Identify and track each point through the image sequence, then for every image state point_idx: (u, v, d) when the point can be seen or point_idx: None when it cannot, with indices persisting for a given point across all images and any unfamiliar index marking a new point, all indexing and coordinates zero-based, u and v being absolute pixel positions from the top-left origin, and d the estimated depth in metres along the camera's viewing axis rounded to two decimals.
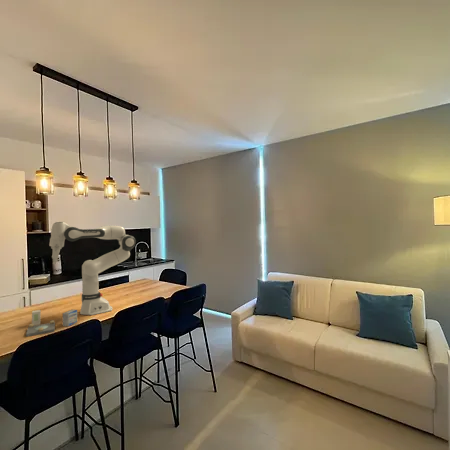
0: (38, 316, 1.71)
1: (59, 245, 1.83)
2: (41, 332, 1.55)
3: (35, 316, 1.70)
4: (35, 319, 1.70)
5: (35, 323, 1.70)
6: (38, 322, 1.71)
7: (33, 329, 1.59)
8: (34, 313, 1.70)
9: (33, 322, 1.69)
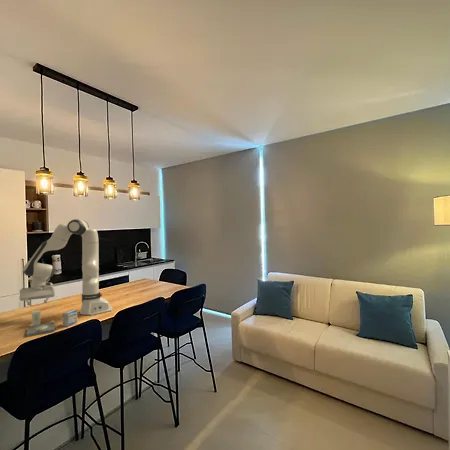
0: (38, 316, 1.71)
1: (31, 287, 1.83)
2: (41, 332, 1.55)
3: (35, 316, 1.70)
4: (35, 319, 1.70)
5: (35, 323, 1.70)
6: (38, 322, 1.71)
7: (33, 329, 1.59)
8: (34, 313, 1.70)
9: (33, 322, 1.69)
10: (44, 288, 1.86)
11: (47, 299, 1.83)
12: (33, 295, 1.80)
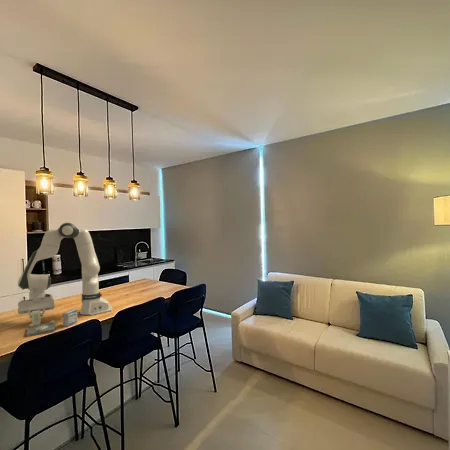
0: (38, 316, 1.71)
1: (29, 299, 1.76)
2: (41, 332, 1.55)
3: (35, 316, 1.70)
4: (35, 319, 1.70)
5: (35, 323, 1.70)
6: (38, 322, 1.71)
7: (33, 329, 1.59)
8: (34, 313, 1.70)
9: (33, 322, 1.69)
10: (43, 300, 1.79)
11: (43, 312, 1.75)
12: (32, 308, 1.73)
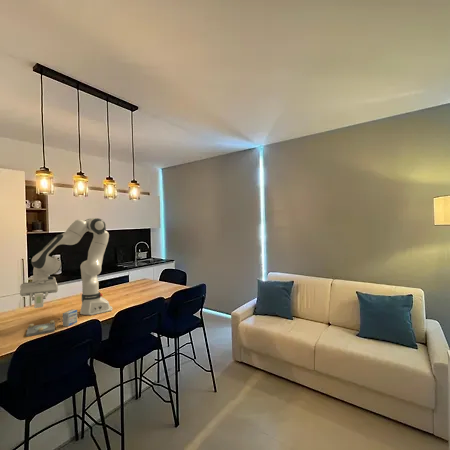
0: (41, 298, 1.64)
1: (32, 281, 1.70)
2: (41, 332, 1.55)
3: (38, 298, 1.63)
4: (38, 301, 1.63)
5: (38, 306, 1.64)
6: (41, 305, 1.64)
7: (33, 329, 1.59)
8: (37, 295, 1.63)
9: (36, 304, 1.63)
10: (46, 283, 1.72)
11: (46, 295, 1.69)
12: (35, 290, 1.66)
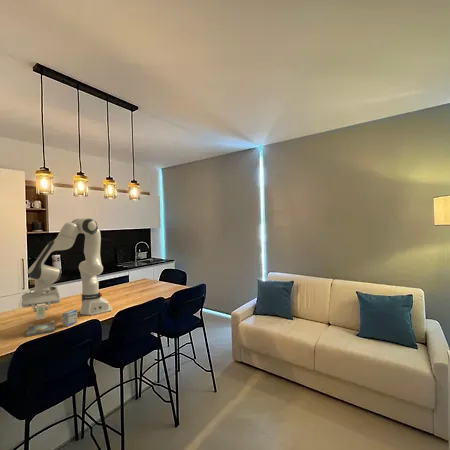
0: (43, 310, 1.60)
1: (34, 291, 1.65)
2: (41, 332, 1.55)
3: (40, 309, 1.59)
4: (40, 313, 1.59)
5: (40, 317, 1.59)
6: (43, 316, 1.60)
7: (33, 329, 1.59)
8: (39, 306, 1.59)
9: (38, 316, 1.58)
10: (49, 293, 1.68)
11: None
12: (37, 301, 1.62)
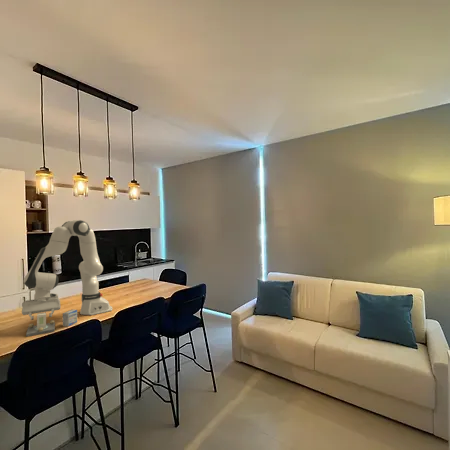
0: (43, 319, 1.60)
1: (34, 299, 1.65)
2: (41, 332, 1.55)
3: (40, 319, 1.59)
4: (40, 322, 1.59)
5: (40, 327, 1.59)
6: (43, 325, 1.60)
7: (33, 329, 1.59)
8: (39, 316, 1.59)
9: (38, 326, 1.59)
10: (49, 300, 1.68)
11: (52, 312, 1.65)
12: (37, 308, 1.62)
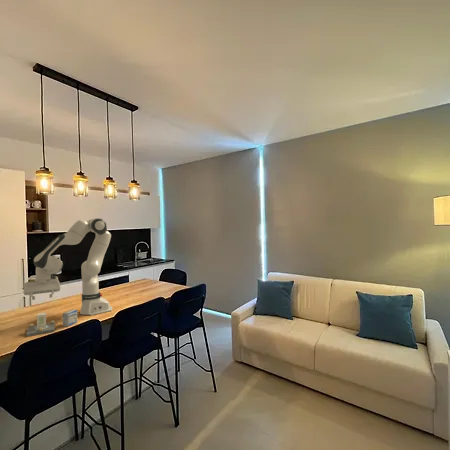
0: (43, 319, 1.60)
1: (35, 280, 1.74)
2: (41, 332, 1.55)
3: (40, 319, 1.59)
4: (40, 322, 1.59)
5: (40, 327, 1.59)
6: (43, 325, 1.60)
7: (33, 329, 1.59)
8: (39, 316, 1.59)
9: (38, 326, 1.59)
10: (49, 282, 1.76)
11: (52, 293, 1.74)
12: (38, 289, 1.70)
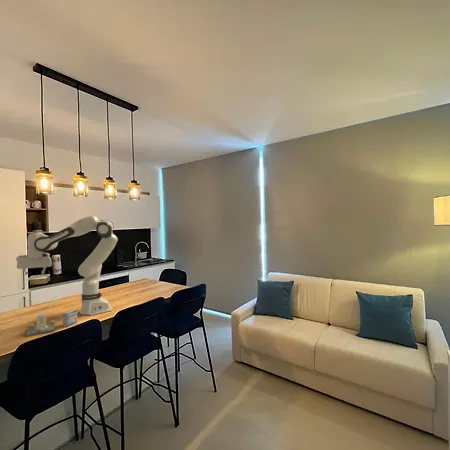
0: (43, 319, 1.60)
1: (27, 256, 1.81)
2: (41, 332, 1.55)
3: (40, 319, 1.59)
4: (40, 322, 1.59)
5: (40, 327, 1.59)
6: (43, 325, 1.60)
7: (33, 329, 1.59)
8: (39, 316, 1.59)
9: (38, 326, 1.59)
10: (41, 259, 1.85)
11: (44, 270, 1.88)
12: (30, 266, 1.82)
